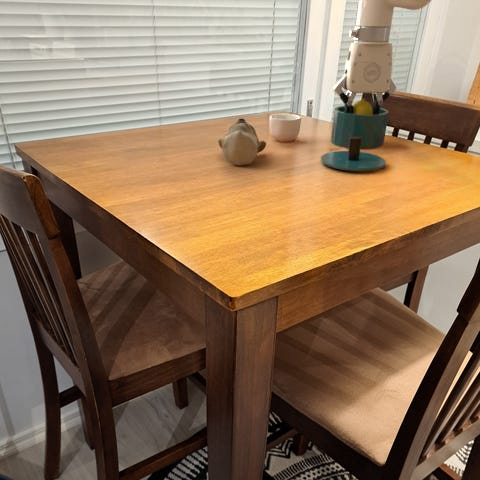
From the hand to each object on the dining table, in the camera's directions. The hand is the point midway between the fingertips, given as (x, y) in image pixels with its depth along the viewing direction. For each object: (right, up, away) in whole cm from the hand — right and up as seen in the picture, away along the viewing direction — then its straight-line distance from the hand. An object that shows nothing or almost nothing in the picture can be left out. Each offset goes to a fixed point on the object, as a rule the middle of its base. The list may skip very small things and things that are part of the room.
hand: (360, 121), depth 119 cm
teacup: (-18, -2, +5) cm, 19 cm away
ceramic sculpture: (-29, -13, -11) cm, 33 cm away
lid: (-5, -14, -14) cm, 20 cm away
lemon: (0, -3, +2) cm, 3 cm away
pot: (0, -4, +3) cm, 5 cm away
